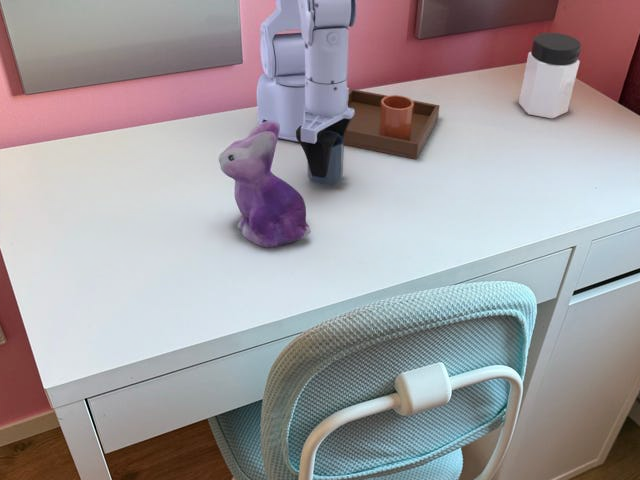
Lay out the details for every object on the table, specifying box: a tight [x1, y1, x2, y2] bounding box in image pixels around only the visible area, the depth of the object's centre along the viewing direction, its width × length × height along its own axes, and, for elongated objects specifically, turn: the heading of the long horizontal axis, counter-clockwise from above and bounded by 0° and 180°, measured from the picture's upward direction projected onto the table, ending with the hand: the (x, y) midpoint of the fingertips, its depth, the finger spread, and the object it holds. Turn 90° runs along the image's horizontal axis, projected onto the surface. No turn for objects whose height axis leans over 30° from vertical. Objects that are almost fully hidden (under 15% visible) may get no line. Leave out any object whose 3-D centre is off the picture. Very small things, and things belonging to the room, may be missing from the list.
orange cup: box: [379, 94, 414, 141], centre depth 118 cm, size 5×5×6 cm
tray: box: [344, 88, 440, 160], centre depth 122 cm, size 16×15×3 cm
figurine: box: [218, 121, 311, 248], centre depth 94 cm, size 9×10×15 cm
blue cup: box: [306, 130, 345, 186], centre depth 106 cm, size 5×5×6 cm
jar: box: [518, 32, 582, 120], centre depth 129 cm, size 9×8×12 cm
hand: (325, 166), depth 107 cm, fingers closed on blue cup, 5 cm apart
